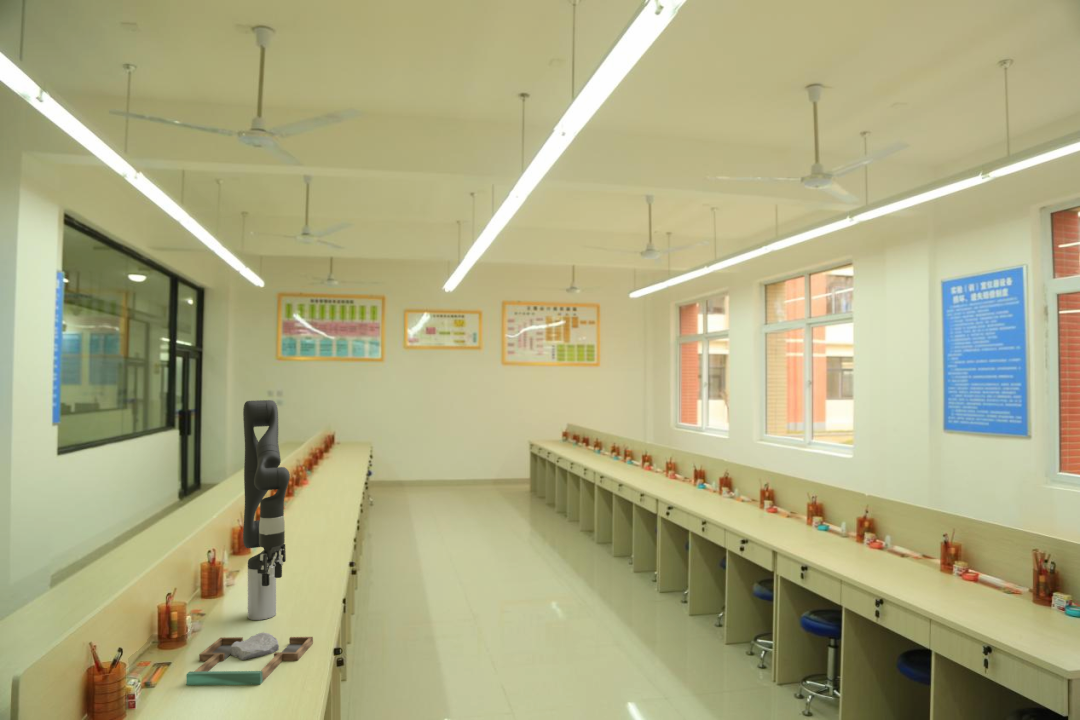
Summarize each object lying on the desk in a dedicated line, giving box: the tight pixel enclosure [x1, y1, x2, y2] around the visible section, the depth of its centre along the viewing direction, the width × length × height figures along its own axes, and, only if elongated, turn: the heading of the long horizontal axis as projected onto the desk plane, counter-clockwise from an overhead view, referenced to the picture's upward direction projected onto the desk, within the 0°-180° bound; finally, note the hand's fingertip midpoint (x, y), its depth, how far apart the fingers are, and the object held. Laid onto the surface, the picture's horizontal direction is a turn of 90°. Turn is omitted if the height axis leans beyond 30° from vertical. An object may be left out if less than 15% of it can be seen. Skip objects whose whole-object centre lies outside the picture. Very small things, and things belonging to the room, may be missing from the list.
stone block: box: [230, 632, 280, 661], centre depth 205 cm, size 12×5×10 cm
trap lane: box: [186, 636, 314, 686], centre depth 197 cm, size 28×29×3 cm
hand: (272, 581), depth 215 cm, fingers open, 8 cm apart
